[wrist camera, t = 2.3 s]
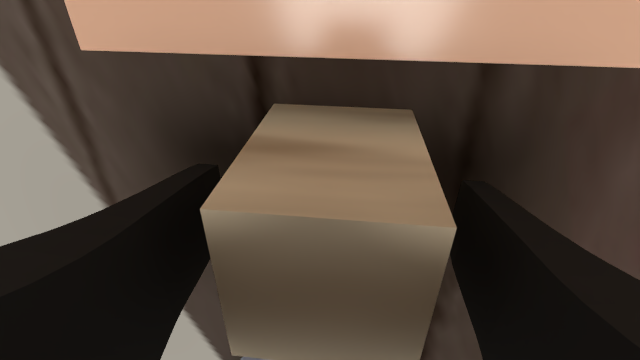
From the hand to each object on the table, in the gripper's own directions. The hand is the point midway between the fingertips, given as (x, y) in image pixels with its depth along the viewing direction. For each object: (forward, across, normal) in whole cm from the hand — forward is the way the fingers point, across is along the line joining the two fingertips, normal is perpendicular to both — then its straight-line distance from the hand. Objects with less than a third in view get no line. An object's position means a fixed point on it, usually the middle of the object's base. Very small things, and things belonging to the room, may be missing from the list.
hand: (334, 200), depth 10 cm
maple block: (+2, 0, 0) cm, 2 cm away
